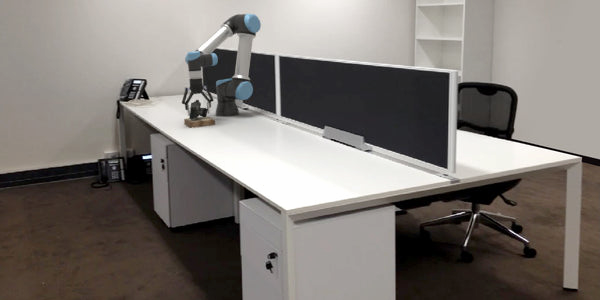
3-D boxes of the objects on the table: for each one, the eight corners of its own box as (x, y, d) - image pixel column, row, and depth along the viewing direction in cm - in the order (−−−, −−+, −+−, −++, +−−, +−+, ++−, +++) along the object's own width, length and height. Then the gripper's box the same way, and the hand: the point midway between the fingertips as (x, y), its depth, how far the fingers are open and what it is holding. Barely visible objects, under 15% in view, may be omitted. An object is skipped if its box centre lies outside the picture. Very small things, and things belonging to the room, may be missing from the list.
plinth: (208, 121, 368) (208, 116, 367) (215, 124, 355) (214, 119, 354) (184, 124, 362) (184, 118, 362) (190, 127, 349) (189, 122, 348)
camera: (204, 122, 350) (206, 105, 348) (188, 119, 350) (190, 102, 348) (207, 117, 368) (209, 100, 366) (192, 114, 367) (194, 98, 365)
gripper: (213, 75, 360) (216, 111, 365) (174, 79, 351) (177, 115, 356) (217, 76, 353) (219, 113, 358) (177, 80, 344) (180, 117, 349)
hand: (198, 114), depth 357 cm, fingers closed on camera, 11 cm apart
